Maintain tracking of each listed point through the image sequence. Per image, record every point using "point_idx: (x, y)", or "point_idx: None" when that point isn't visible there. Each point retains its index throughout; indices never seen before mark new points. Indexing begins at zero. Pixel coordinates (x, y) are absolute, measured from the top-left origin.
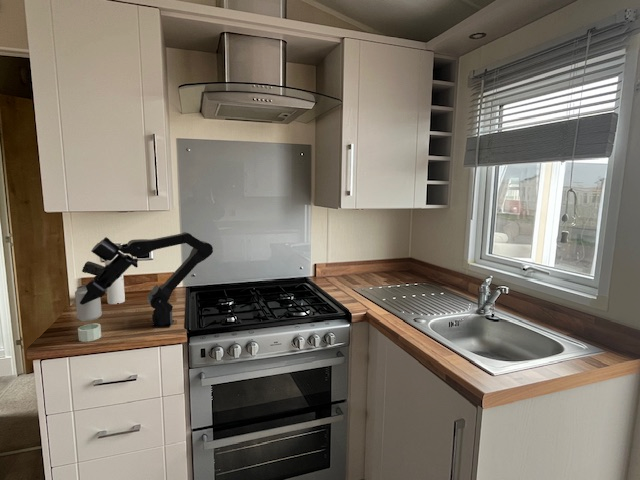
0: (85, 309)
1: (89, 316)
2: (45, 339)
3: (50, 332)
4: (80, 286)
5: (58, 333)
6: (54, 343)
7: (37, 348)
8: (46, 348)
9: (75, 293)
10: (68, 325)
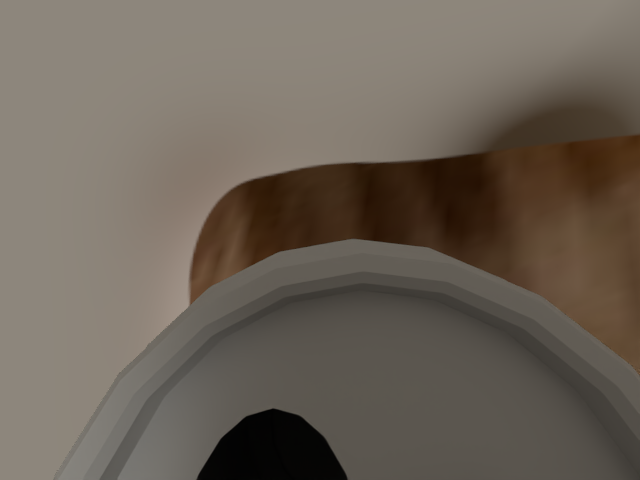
0: (217, 447)
1: (245, 463)
2: (330, 180)
3: (422, 162)
4: (470, 302)
5: (403, 204)
6: (267, 242)
7: (224, 195)
8: (212, 233)
9: (210, 291)
10: (521, 204)
